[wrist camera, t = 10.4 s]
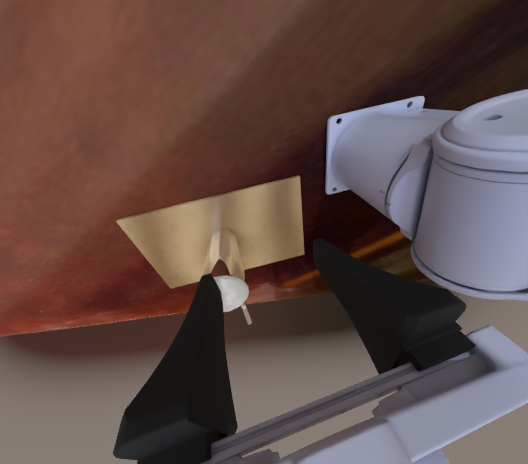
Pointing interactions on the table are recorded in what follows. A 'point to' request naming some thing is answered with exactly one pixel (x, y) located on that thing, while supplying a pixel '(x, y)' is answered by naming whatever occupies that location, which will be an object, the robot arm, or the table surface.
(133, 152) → the table surface
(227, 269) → the milkshake
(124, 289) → the table surface
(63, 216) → the table surface
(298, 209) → the desk mat
